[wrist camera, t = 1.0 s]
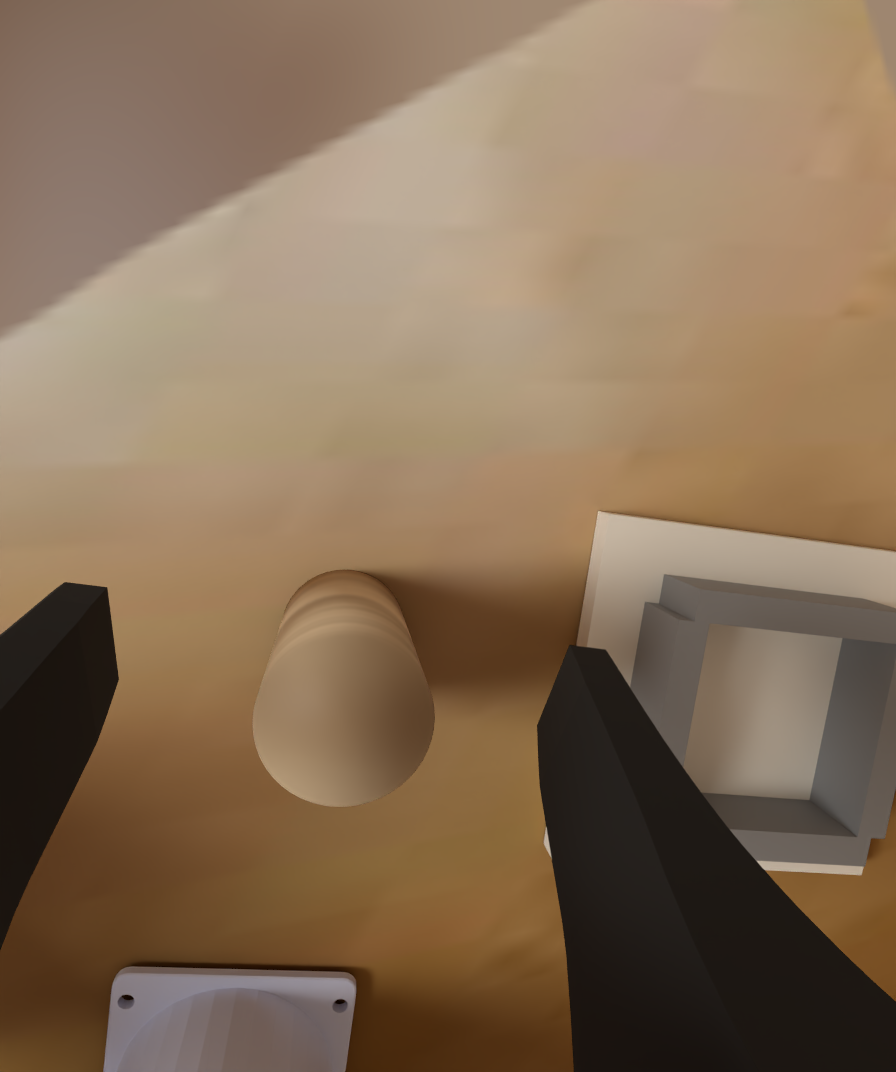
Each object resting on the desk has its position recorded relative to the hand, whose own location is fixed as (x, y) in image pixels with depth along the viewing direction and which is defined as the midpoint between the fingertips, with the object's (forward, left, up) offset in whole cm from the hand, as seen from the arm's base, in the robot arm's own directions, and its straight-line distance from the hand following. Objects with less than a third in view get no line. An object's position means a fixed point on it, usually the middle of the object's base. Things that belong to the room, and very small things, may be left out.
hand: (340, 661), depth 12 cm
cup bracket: (-4, -14, -12) cm, 19 cm away
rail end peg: (-3, 0, -12) cm, 13 cm away
